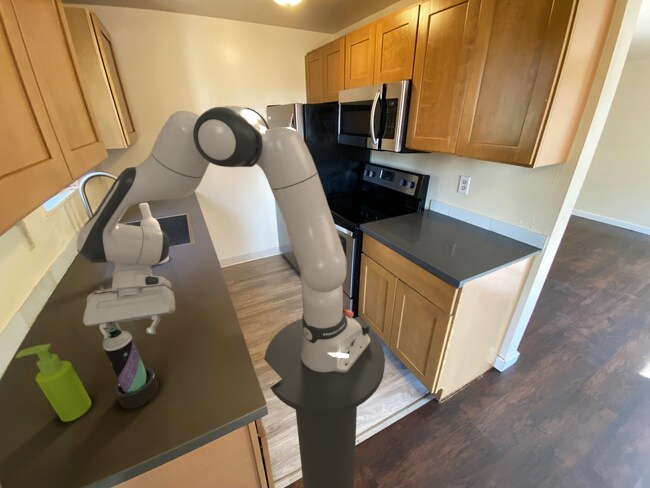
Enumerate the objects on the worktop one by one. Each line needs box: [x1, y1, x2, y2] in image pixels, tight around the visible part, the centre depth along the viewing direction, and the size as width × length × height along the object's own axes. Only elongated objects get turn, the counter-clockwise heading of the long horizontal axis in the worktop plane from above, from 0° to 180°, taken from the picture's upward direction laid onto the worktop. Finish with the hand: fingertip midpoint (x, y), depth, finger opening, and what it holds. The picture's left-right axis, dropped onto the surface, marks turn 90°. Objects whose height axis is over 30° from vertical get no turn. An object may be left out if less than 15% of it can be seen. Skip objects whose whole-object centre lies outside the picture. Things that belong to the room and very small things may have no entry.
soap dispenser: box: [14, 343, 92, 423], centre depth 63 cm, size 6×7×20 cm
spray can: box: [102, 327, 149, 394], centre depth 66 cm, size 6×6×20 cm
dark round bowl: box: [114, 367, 160, 410], centre depth 70 cm, size 8×8×4 cm
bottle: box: [138, 202, 170, 265], centre depth 134 cm, size 8×8×30 cm
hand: (130, 338), depth 69 cm, fingers open, 8 cm apart
